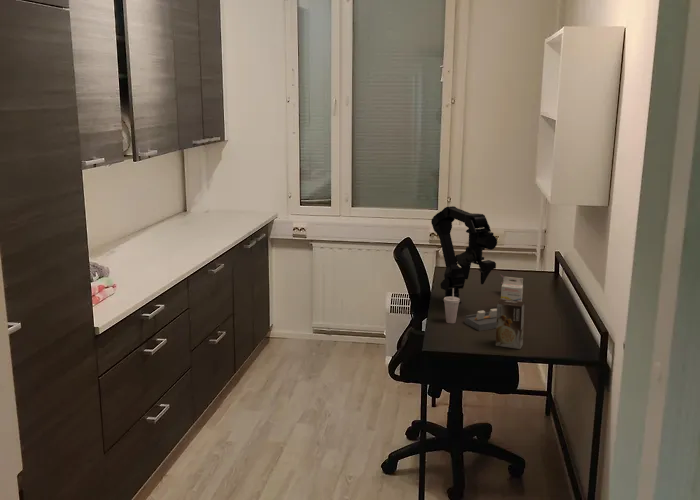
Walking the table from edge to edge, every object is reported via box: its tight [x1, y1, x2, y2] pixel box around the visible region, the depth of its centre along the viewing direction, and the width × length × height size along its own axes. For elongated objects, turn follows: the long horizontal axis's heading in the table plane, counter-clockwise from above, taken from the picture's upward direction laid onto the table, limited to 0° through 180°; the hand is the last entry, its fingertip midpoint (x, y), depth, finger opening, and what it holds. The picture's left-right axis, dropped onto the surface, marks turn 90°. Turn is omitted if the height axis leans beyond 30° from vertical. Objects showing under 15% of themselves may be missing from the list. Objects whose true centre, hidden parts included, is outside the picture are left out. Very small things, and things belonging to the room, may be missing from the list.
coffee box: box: [495, 298, 526, 350], centre depth 244 cm, size 9×6×16 cm
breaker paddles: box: [475, 308, 497, 320], centre depth 267 cm, size 1×16×4 cm, turn 114°
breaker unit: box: [464, 311, 497, 332], centre depth 268 cm, size 10×19×3 cm, turn 114°
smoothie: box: [443, 288, 461, 324], centre depth 269 cm, size 6×6×14 cm
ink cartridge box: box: [500, 276, 524, 302], centre depth 280 cm, size 9×5×15 cm, turn 71°
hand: (474, 281), depth 279 cm, fingers open, 9 cm apart
